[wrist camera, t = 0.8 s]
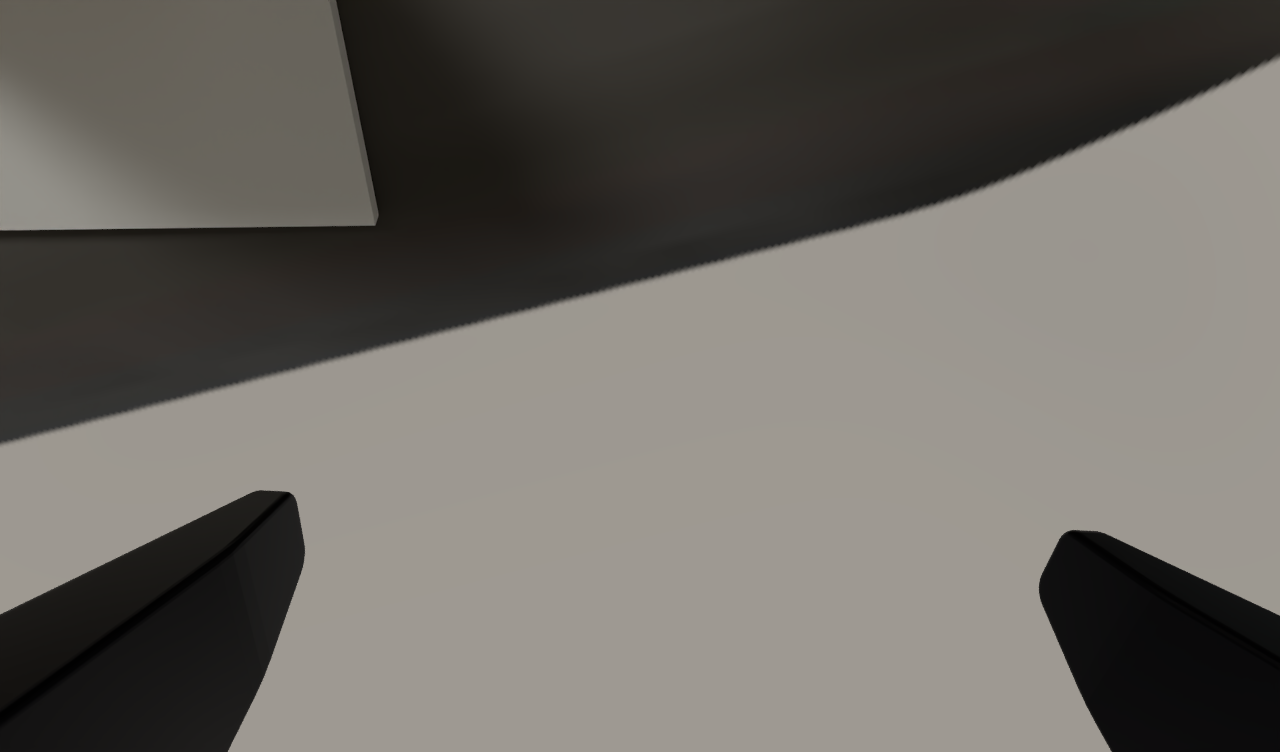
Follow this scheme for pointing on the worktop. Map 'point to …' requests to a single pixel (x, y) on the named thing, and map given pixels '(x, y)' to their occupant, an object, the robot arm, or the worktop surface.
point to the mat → (178, 116)
